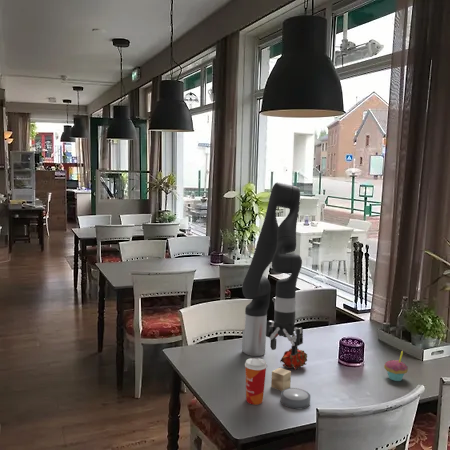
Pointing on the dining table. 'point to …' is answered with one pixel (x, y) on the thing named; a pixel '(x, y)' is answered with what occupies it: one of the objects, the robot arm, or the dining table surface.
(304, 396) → the pedestal
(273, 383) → the oak block
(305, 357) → the dragon fruit
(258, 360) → the paper cup
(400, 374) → the cupcake
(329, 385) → the dining table surface
